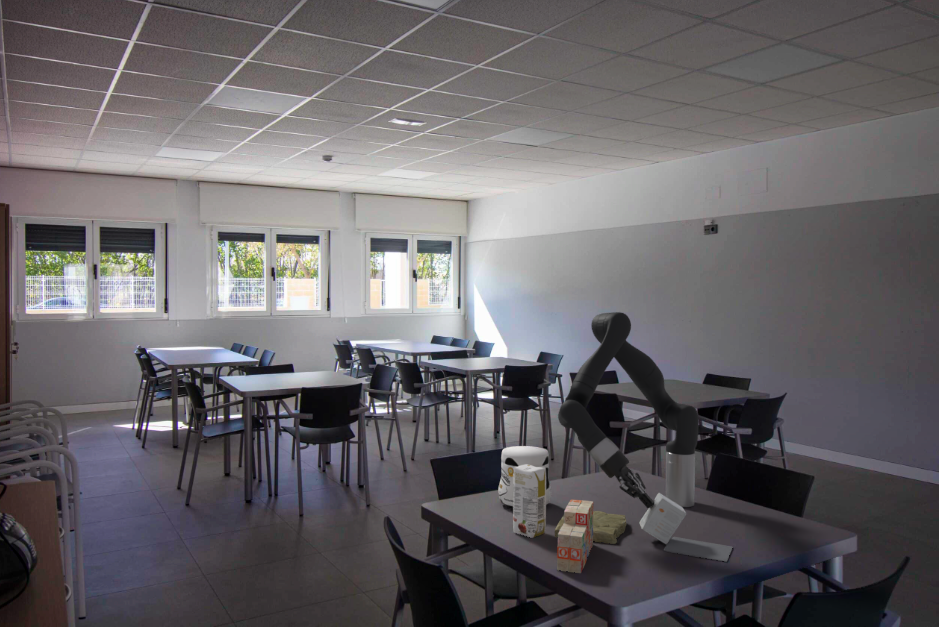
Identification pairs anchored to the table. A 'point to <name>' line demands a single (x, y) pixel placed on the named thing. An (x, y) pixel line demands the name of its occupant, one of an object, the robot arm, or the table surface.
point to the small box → (662, 518)
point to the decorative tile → (603, 527)
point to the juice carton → (529, 500)
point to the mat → (698, 549)
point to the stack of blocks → (575, 536)
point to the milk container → (517, 458)
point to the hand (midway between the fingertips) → (651, 505)
